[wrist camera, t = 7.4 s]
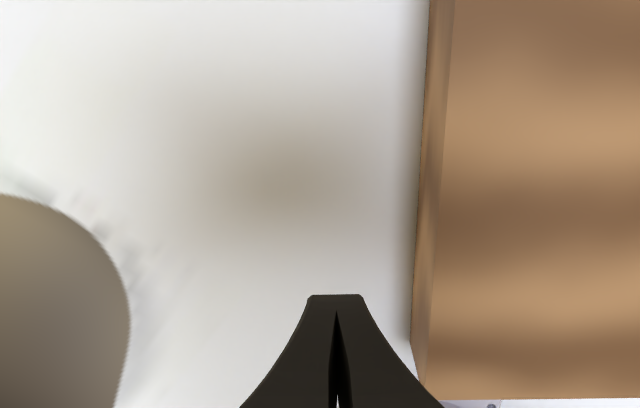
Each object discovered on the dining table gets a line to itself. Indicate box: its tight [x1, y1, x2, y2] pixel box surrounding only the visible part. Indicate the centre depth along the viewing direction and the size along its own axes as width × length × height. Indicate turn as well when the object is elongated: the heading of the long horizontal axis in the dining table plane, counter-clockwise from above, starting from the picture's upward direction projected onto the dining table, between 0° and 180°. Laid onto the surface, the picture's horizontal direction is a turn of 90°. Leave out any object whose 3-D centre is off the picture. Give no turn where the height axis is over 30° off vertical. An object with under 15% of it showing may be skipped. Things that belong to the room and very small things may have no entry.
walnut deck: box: [410, 0, 640, 400], centre depth 20 cm, size 18×12×4 cm, turn 1°
